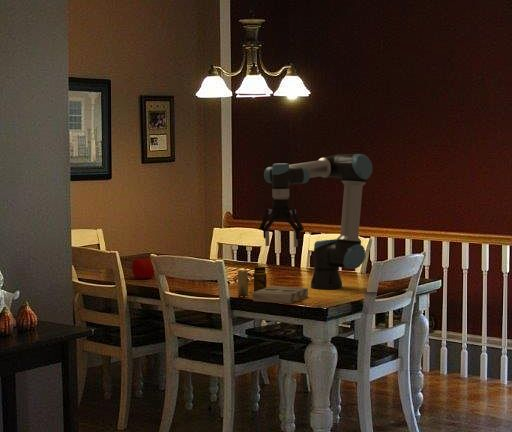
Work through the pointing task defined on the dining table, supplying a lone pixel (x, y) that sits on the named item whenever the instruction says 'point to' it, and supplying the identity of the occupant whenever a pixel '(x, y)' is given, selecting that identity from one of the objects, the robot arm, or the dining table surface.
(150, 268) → the tomato
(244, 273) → the bushing
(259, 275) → the condiment
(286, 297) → the jig
